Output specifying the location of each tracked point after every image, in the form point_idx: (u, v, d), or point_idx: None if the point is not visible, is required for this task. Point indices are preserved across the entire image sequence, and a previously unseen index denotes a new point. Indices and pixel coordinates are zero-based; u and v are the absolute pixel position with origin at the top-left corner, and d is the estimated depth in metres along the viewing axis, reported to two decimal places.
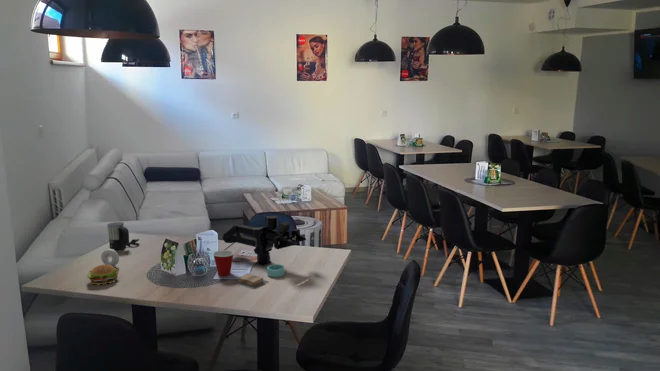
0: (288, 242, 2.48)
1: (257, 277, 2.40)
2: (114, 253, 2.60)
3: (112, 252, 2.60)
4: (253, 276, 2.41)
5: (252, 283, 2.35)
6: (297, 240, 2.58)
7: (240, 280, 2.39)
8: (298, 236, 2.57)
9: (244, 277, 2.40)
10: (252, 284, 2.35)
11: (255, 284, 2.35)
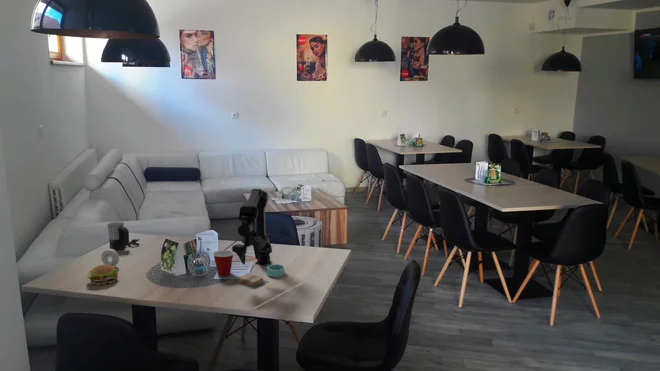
0: (242, 258, 2.32)
1: (257, 277, 2.40)
2: (114, 253, 2.60)
3: (112, 252, 2.60)
4: (253, 276, 2.41)
5: (252, 283, 2.35)
6: (254, 247, 2.42)
7: (240, 280, 2.39)
8: (258, 249, 2.41)
9: (244, 277, 2.40)
10: (252, 284, 2.35)
11: (255, 284, 2.35)
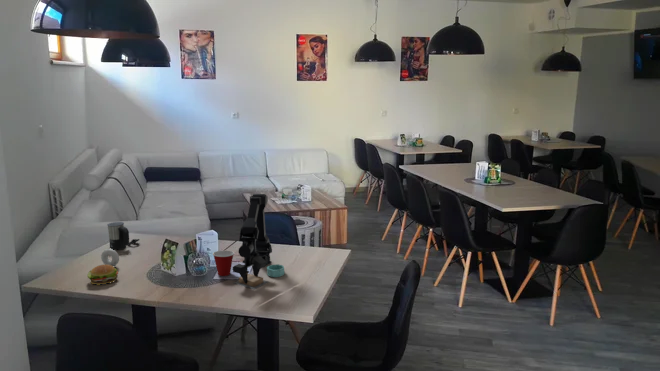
0: (244, 277, 2.35)
1: (257, 277, 2.40)
2: (114, 253, 2.60)
3: (112, 252, 2.60)
4: (253, 276, 2.41)
5: (252, 283, 2.35)
6: (253, 267, 2.43)
7: (240, 280, 2.39)
8: (256, 269, 2.41)
9: None
10: (252, 284, 2.35)
11: (255, 284, 2.35)
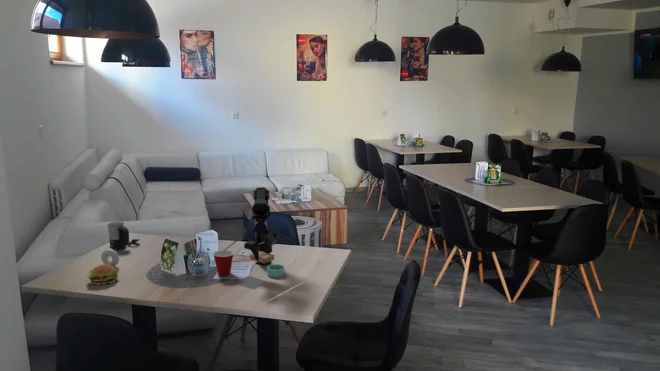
0: (256, 254, 2.39)
1: (268, 254, 2.43)
2: (114, 253, 2.60)
3: (112, 252, 2.60)
4: (264, 253, 2.44)
5: (263, 260, 2.38)
6: (264, 244, 2.46)
7: (251, 257, 2.42)
8: (267, 246, 2.45)
9: None
10: (263, 261, 2.38)
11: (266, 261, 2.38)
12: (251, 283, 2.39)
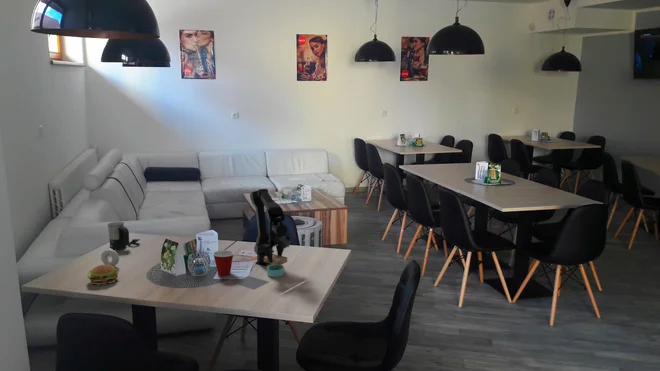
0: (270, 257, 2.45)
1: (281, 257, 2.49)
2: (114, 253, 2.60)
3: (112, 252, 2.60)
4: (277, 256, 2.50)
5: (277, 262, 2.44)
6: (277, 247, 2.52)
7: (265, 259, 2.48)
8: (280, 249, 2.51)
9: None
10: (277, 263, 2.44)
11: (280, 263, 2.44)
12: (251, 283, 2.39)
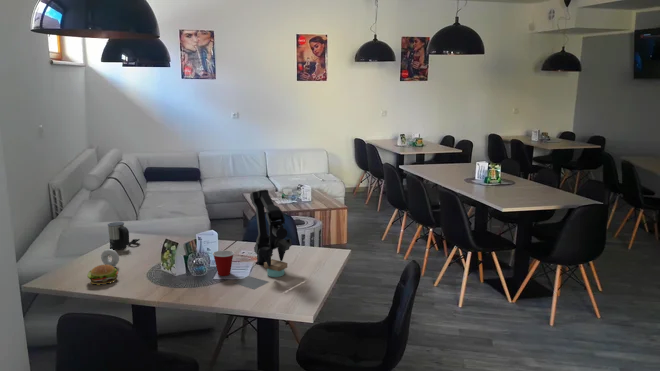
0: (268, 260, 2.44)
1: (281, 262, 2.50)
2: (114, 253, 2.60)
3: (112, 252, 2.60)
4: (277, 261, 2.51)
5: (277, 268, 2.45)
6: (278, 249, 2.53)
7: (265, 265, 2.49)
8: (282, 251, 2.52)
9: None
10: (277, 269, 2.45)
11: (280, 269, 2.45)
12: (251, 283, 2.39)
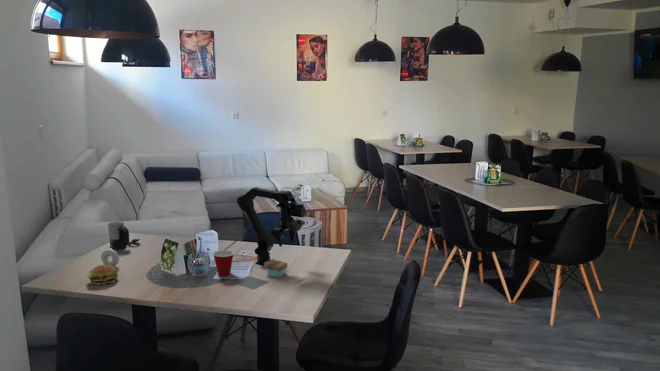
0: (279, 240, 2.55)
1: (281, 262, 2.50)
2: (114, 253, 2.60)
3: (112, 252, 2.60)
4: (277, 261, 2.51)
5: (277, 268, 2.45)
6: (289, 231, 2.64)
7: (265, 265, 2.49)
8: (293, 233, 2.63)
9: (269, 262, 2.50)
10: (277, 269, 2.45)
11: (280, 269, 2.45)
12: (251, 283, 2.39)
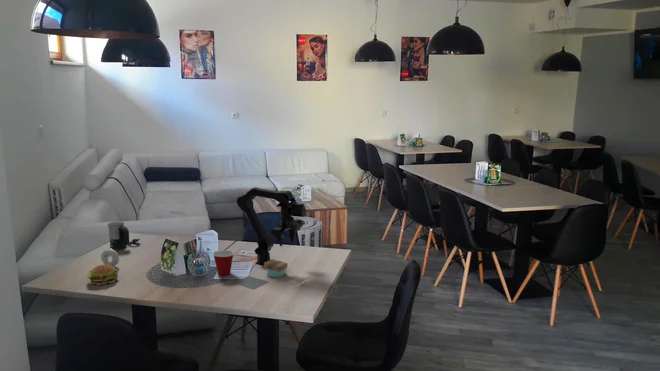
0: (280, 240, 2.55)
1: (281, 262, 2.50)
2: (114, 253, 2.60)
3: (112, 252, 2.60)
4: (277, 261, 2.51)
5: (277, 268, 2.45)
6: (289, 230, 2.64)
7: (265, 265, 2.49)
8: (293, 232, 2.63)
9: (269, 262, 2.50)
10: (277, 269, 2.45)
11: (280, 269, 2.45)
12: (251, 283, 2.39)
